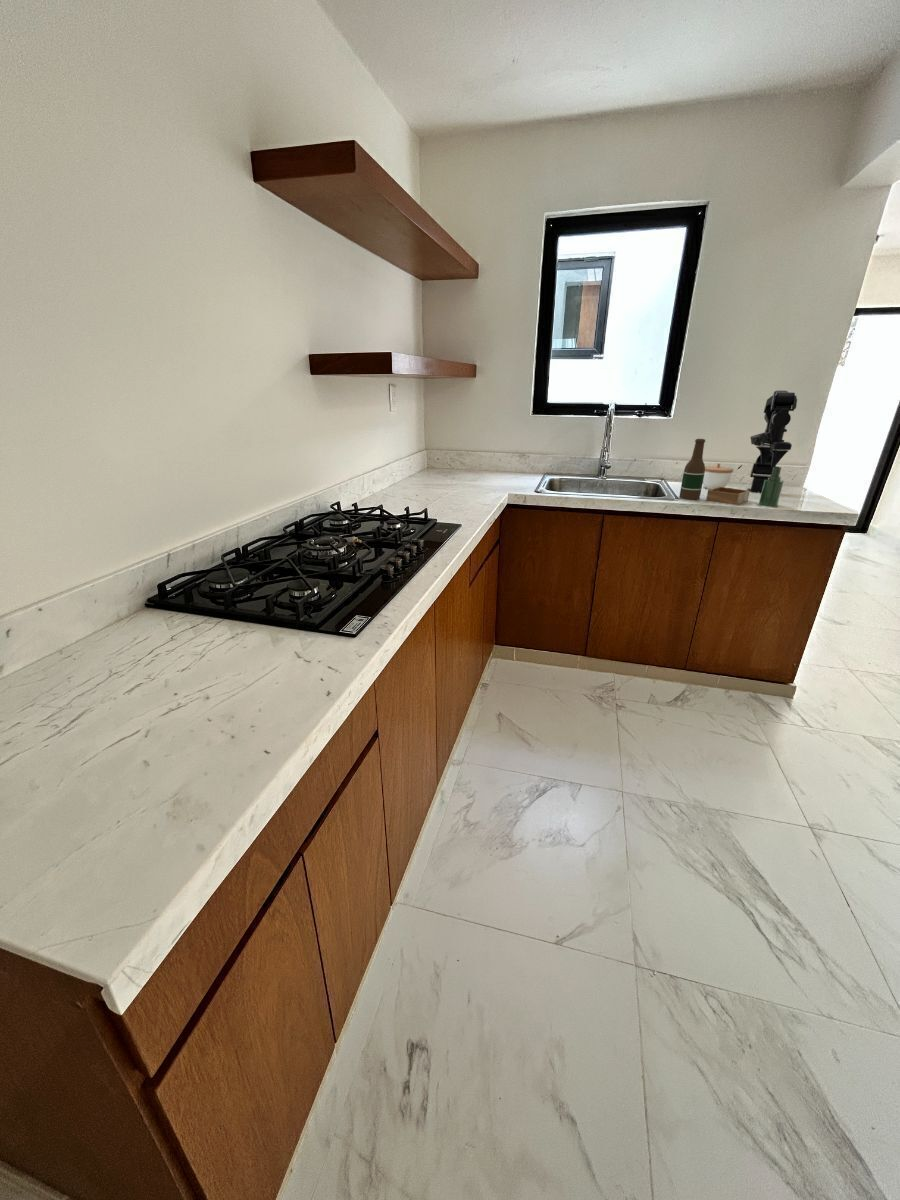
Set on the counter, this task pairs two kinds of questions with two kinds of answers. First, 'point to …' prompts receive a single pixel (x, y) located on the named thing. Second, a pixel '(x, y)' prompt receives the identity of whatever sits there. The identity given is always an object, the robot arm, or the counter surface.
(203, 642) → the counter surface
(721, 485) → the lidded bowl
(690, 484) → the beer bottle
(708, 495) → the wooden tray
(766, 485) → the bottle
